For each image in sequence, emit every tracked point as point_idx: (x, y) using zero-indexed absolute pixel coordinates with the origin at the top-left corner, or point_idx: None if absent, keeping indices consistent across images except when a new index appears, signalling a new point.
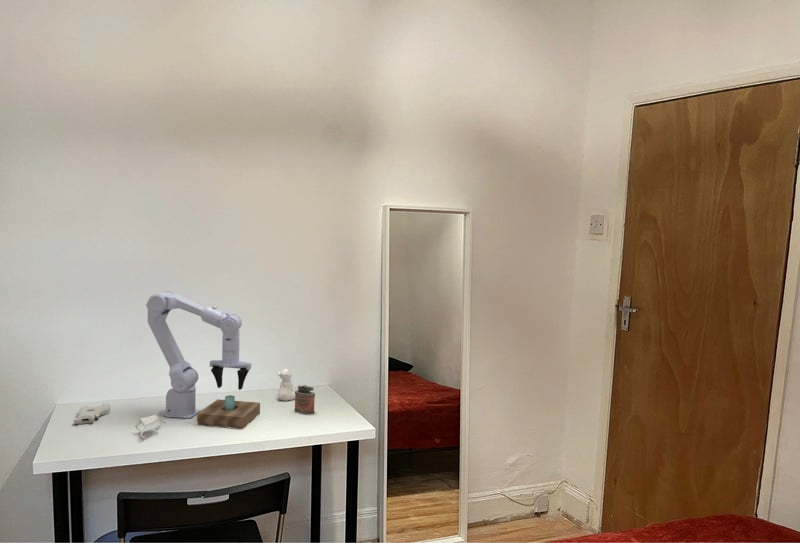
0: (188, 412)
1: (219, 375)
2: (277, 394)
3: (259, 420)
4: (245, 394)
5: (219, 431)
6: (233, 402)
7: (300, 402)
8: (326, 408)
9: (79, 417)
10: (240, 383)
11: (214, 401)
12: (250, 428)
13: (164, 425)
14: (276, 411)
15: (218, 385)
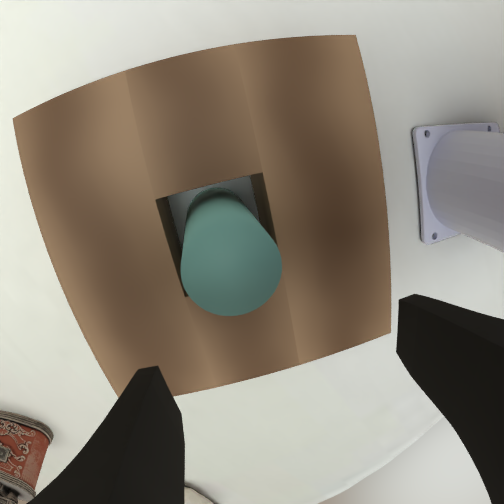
0: (443, 149)
1: (499, 396)
2: (198, 502)
3: None
4: (337, 466)
5: (144, 23)
6: (182, 251)
7: (5, 447)
8: None
9: None
10: (105, 421)
11: (390, 295)
12: None
13: (439, 24)
14: (95, 408)
15: (423, 304)
